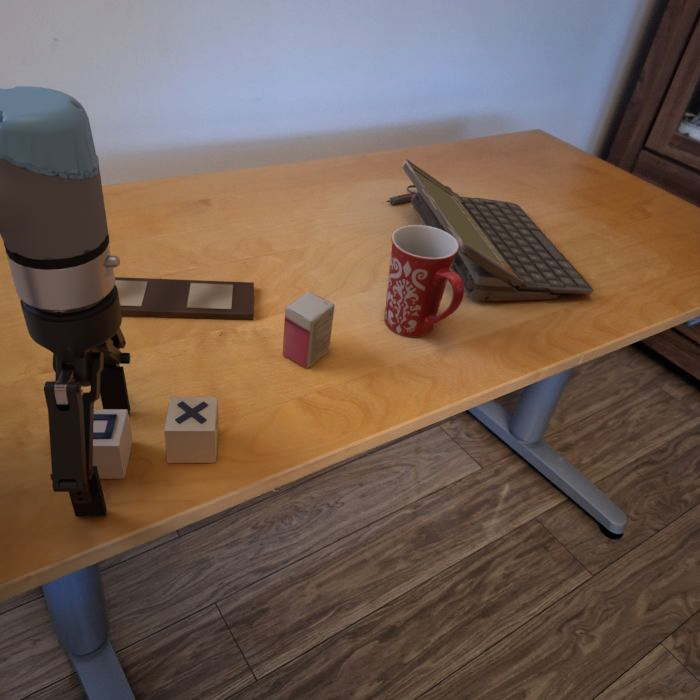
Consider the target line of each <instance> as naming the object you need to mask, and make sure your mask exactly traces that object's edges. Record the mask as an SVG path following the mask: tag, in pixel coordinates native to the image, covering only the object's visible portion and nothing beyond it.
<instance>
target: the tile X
mask: <svg viewBox="0 0 700 700" xmlns="http://www.w3.org/2000/svg"><path fill="white" fill-rule="evenodd" d="M164 424H165V425H164V429H163V432H164V440H165V441H164V442H165V451H166V461H167V463H168V464H216V463H217V456H218V455H217V454H218V444H219V443H218V441H219V430H220V427H219V426H220V425H219V424H220V423H219V397H218V396H174V395H173V396H172V395H171V396H169V400H168V406H167V412H166V419H165V423H164Z"/></svg>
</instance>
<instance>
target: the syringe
mask: <svg viewBox="0 0 700 700" xmlns="http://www.w3.org/2000/svg"><path fill="white" fill-rule="evenodd" d="M443 185H444V186H446V187H447V188H448V189H450V190H451V191H453V189H452V187H450V186H448V185H445V184H443ZM411 188H412V189H413V188H414V189H416V187H415V186H414V184H411V185H408V186H407V187H406V192H408V193H404V194H399V195H394V196H391V197H389V199H387V200H386V201H383V202H381V204H383V203H388V204H389V203H390V205H394V204H399V203H404V202H410V201H412V197H413V195H414V194H415V193H416V191H413V190H411Z"/></svg>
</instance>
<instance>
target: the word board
mask: <svg viewBox="0 0 700 700" xmlns="http://www.w3.org/2000/svg"><path fill="white" fill-rule="evenodd" d="M115 285H116V287H117V289H118V295H119V302H120V308H121V314H122V317H137V318H138V317H139V318H140V317H142V318H143V317H145V318H173V319H175V318H177V319H180V318H181V319H210V320H241V321H242V320H243V321H253V320H254V302H255V301H254V300H255V298H254V297H255V296H254V295H255V293H254V292H255V283H254V282H253V281H252V282H251V281H229V280H228V281H227V280H226V281H225V280H202V279H201V280H200V279H199V280H197V279H173V278H149V277H147V278H145V277H124V276H123V277H121V276H115Z"/></svg>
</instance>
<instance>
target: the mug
mask: <svg viewBox="0 0 700 700" xmlns="http://www.w3.org/2000/svg"><path fill="white" fill-rule="evenodd" d="M390 239H391V253H390V259H389V270H388V279H387V288H386V299H385V307H384V316H383V320H384V323H385V325H386V326H387V328H388V329H389V330H390V331H392V332H394V333H396V334H398V335H401V336H403V337H404V336H405V337H409V338H419V337H423V336H426V335H429V334H430V333H431V332H432V331H433V329H434V326H435V324H438V323H439V322H441V321H443V320H446V319H447V318H448V317H450V316H451V315H453V314H454V313H455V312H456V311H457V310H458V309H459V307H460V306H461V304H462V301H463V299H464V294H465V290H464V284H463V281H462V279H461V277H460V276H459V275H458V274H457V273H456V272H454V271H452V269H451V267H452V264H453V261H454V257H455V254H456V253H457V251H458V249H459V244H458V242H457V240H456V239H455V238H454V237H453V236H452V235H450V234H449V233H447V232H445V231H443V230H441V229H438V228H435V227H431V226H425V225H423V224H408V225H404V226H401V227H398V228H397V229H395V230H394V231H393V232H392V233H391V237H390ZM448 282H449V284H450V285H451V288H452V297H451V301H450V304H449V306H448V307H447V308H446V309H445V310H444V311H443V312H441V313H440V314H439V310H440V306H441V303H442V300H443V296H444V293H445V289H446V286H447V283H448Z"/></svg>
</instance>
